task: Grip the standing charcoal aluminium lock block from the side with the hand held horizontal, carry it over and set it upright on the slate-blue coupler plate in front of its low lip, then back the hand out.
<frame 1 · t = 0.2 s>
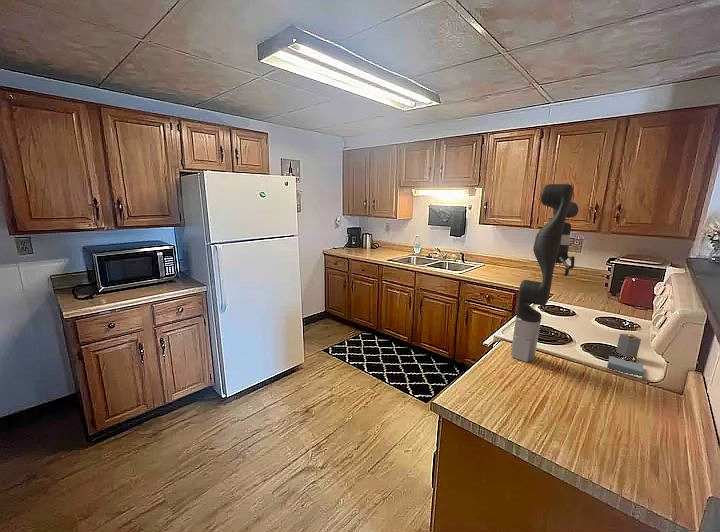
hand: (555, 274, 167), 29 cm above the worktop, tool pointing down, fingers open, 8 cm apart
lock block: (625, 357, 141), on the worktop
coupler plate: (624, 368, 132), on the worktop
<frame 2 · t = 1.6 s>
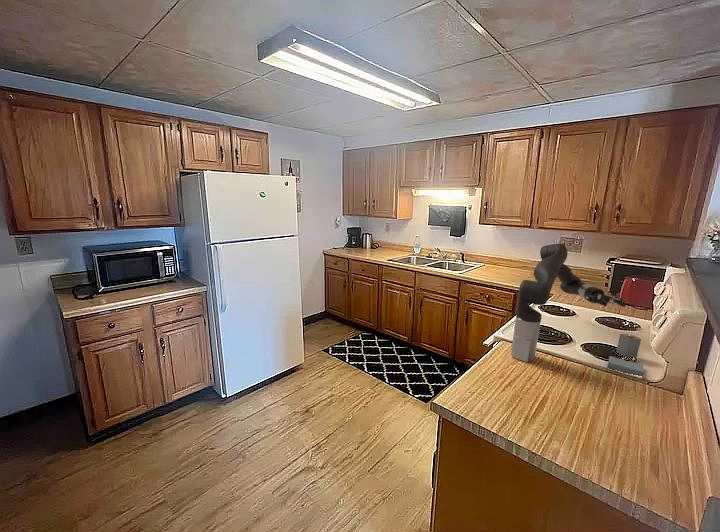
hand: (615, 304, 148), 21 cm above the worktop, tool horizontal, fingers open, 8 cm apart
nothing on the worktop moved.
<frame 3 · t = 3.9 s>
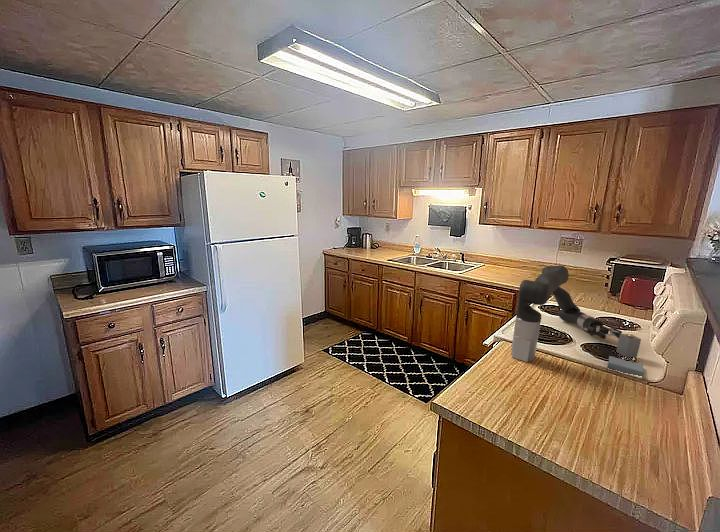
hand: (614, 337, 148), 6 cm above the worktop, tool horizontal, fingers open, 8 cm apart
nothing on the worktop moved.
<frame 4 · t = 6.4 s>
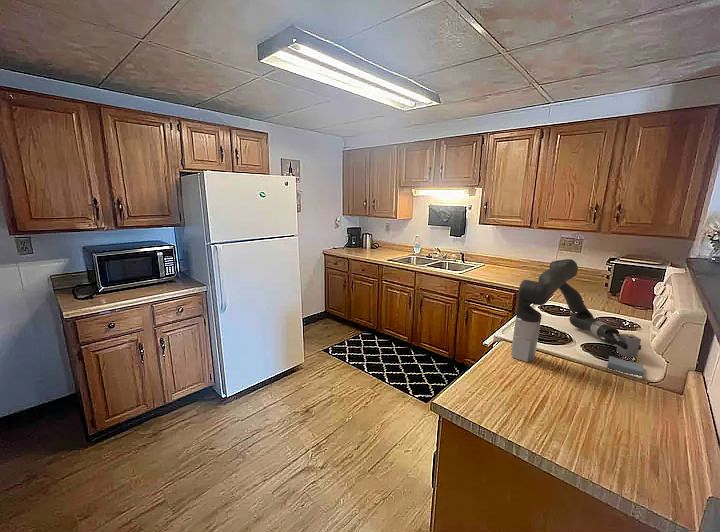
hand: (633, 347, 138), 6 cm above the worktop, tool horizontal, fingers closed on lock block, 5 cm apart
lock block: (625, 357, 141), on the worktop, touching gripper
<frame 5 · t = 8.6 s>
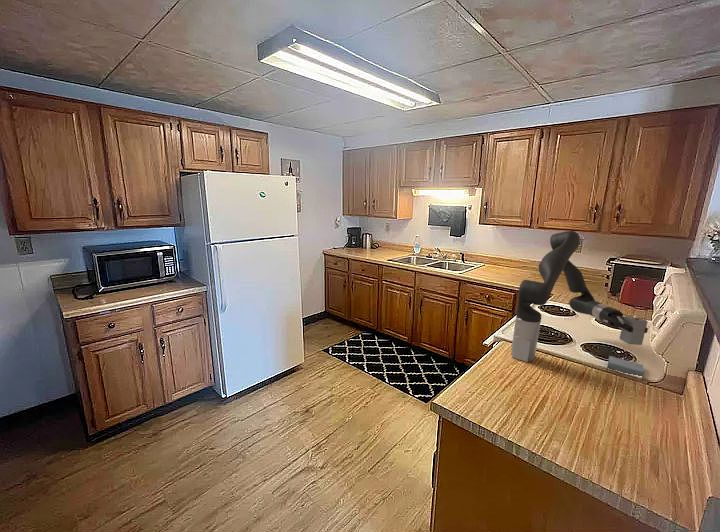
hand: (639, 330, 126), 18 cm above the worktop, tool horizontal, fingers closed on lock block, 5 cm apart
lock block: (630, 341, 130), point 12 cm above the worktop, touching gripper
when the fingers open (9 cm above the worktop, at t = 10.8 s): lock block drops 1 cm, resting on coupler plate.
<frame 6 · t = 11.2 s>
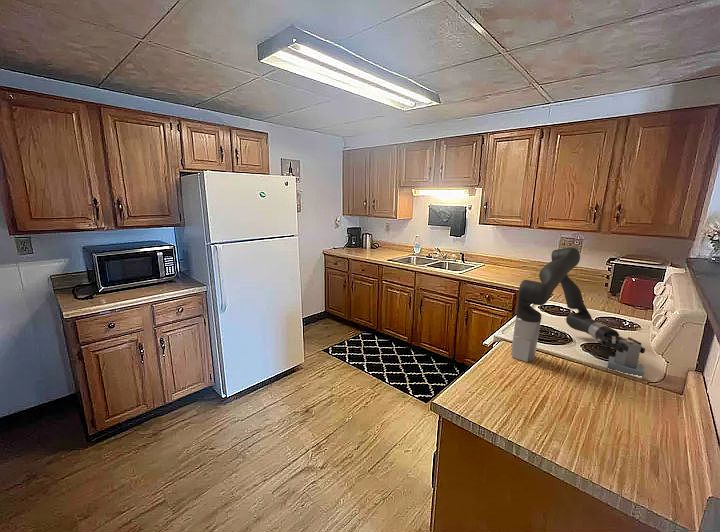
hand: (633, 350, 128), 9 cm above the worktop, tool horizontal, fingers open, 8 cm apart
lock block: (624, 365, 131), point 1 cm above the worktop, touching coupler plate
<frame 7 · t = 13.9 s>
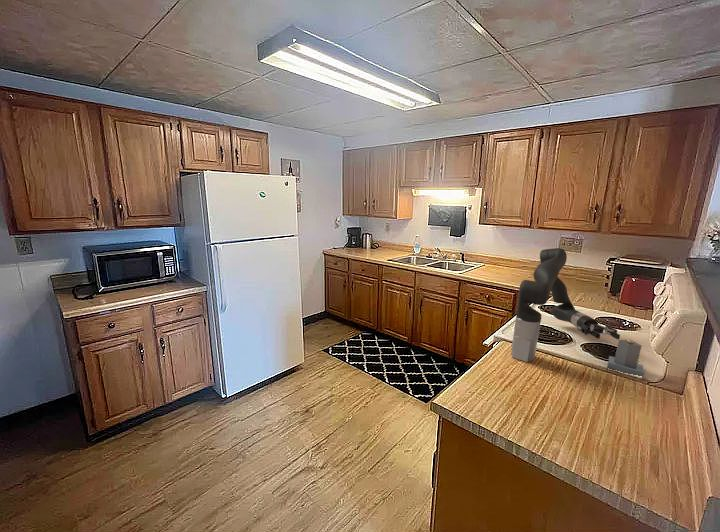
hand: (609, 336, 140), 9 cm above the worktop, tool horizontal, fingers open, 8 cm apart
nothing on the worktop moved.
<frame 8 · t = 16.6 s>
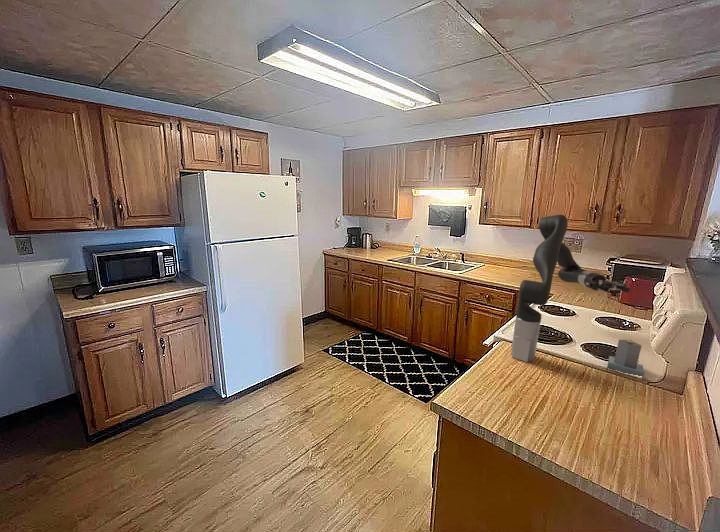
hand: (618, 290, 136), 30 cm above the worktop, tool horizontal, fingers open, 8 cm apart
nothing on the worktop moved.
at the end: lock block inside the target area on the coupler plate (0.2 cm from its centre), point 1.5 cm above the coupler plate's base; lock block tilted 0°; lock block touching coupler plate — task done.
